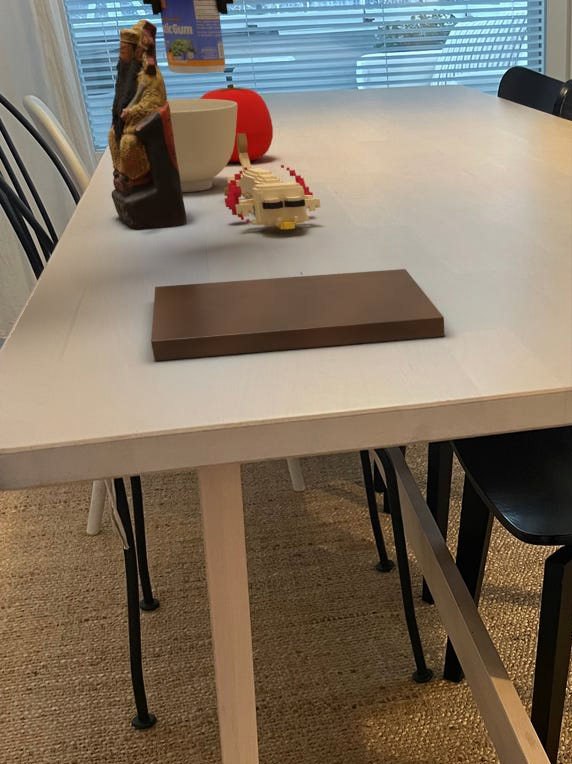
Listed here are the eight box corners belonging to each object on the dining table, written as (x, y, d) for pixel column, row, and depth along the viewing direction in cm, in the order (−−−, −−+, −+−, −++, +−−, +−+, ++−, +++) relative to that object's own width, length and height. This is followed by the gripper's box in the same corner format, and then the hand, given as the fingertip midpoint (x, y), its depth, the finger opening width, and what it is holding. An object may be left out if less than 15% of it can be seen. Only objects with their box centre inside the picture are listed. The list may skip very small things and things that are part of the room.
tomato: (268, 166, 149) (259, 87, 143) (192, 167, 149) (179, 88, 143) (283, 154, 159) (275, 80, 153) (211, 155, 159) (200, 81, 153)
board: (154, 361, 73) (150, 341, 72) (158, 304, 86) (154, 286, 85) (444, 336, 77) (444, 317, 76) (406, 285, 90) (405, 268, 89)
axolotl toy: (210, 212, 126) (244, 233, 105) (198, 135, 121) (230, 142, 101) (287, 206, 129) (334, 225, 108) (277, 131, 124) (325, 136, 104)
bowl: (248, 196, 128) (237, 109, 123) (121, 201, 126) (104, 113, 120) (247, 176, 141) (236, 97, 136) (131, 181, 139) (116, 100, 133)
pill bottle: (157, 72, 94) (137, -52, 89) (199, 69, 98) (182, -50, 92) (196, 74, 92) (178, -53, 86) (238, 71, 95) (223, -52, 90)
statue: (114, 215, 119) (74, 19, 107) (181, 209, 121) (149, 18, 110) (124, 234, 109) (82, 22, 98) (197, 228, 112) (164, 21, 101)
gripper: (254, -230, 87) (278, 12, 97) (49, -239, 83) (96, 14, 93) (261, -247, 81) (286, 14, 91) (41, -258, 77) (91, 15, 87)
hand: (189, 11), depth 92 cm, fingers closed on pill bottle, 5 cm apart
